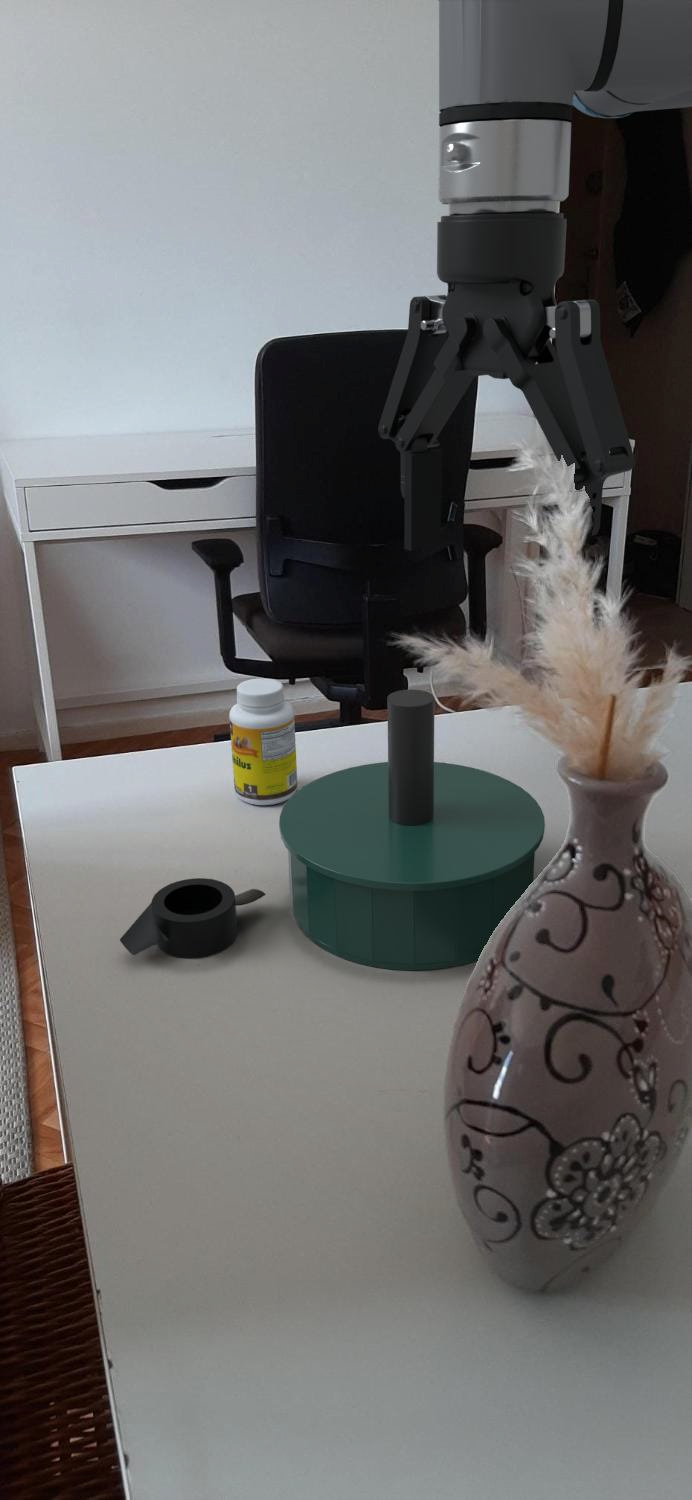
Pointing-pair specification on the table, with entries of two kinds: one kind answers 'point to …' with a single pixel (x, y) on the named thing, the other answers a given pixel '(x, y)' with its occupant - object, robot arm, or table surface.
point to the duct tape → (189, 919)
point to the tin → (403, 918)
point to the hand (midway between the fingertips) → (490, 566)
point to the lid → (411, 815)
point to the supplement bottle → (263, 743)
